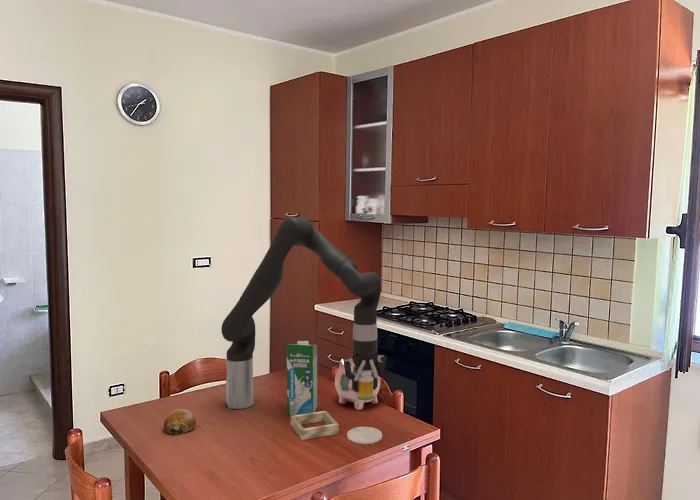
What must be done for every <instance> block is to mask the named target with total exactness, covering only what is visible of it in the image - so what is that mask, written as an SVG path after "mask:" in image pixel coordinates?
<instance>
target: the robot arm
mask: <svg viewBox="0 0 700 500" xmlns="http://www.w3.org/2000/svg"><path fill="white" fill-rule="evenodd" d="M294 246H295V247H296V246H297V247H305V248H306V249H308V250H310V251H312V252H313V253H315V254H316V256H318V257H319V259H320V261H321V263H322V265H323V266H324V267H325V268H326V269H327V270H328V271H330V272H331V273H332V274H333V275H335V276H336V277H337V279H338V278H339V280H341V282H342V284H343V285H344V286H345V288H346V289H347V290H348V291H349V292H350V294H352V295H353V296H356V297H358V298H360V300H359V302H358V303H356V304H355V306H354V307H353V327H352V356H351V357H352V358H349V359H346V358H343V359H344V360H343V363H344V368H345V374H346V377H347V378H349V379H350V380H352V389H353V390H354V391H355V392H358V377H359V375H360V374H361V372H362V370H366V369H368V370H369V369H371V370H372V373H371V374H372V376H373V379H374V381H373V390H376V388H377V386H378V377H379V376H381V377H382V376H383V375H384V372H385V368H386V362H387V357H386V356H385V355H383V354H380V355H379V354H378V324H377V320H378V319H377V313H378V312H377V309H378V306H379V301H380V297H381V293H382V281H381V278H380V276H379V275H378V274H377V273H376V272H373V271H368V272H362V273H360V272H359V271H358V265H357V263H356V262H355V261H354V260H353V259H351V258H350V257H349V256H347V255H346V254H345V253H344V252H343V251H341V250H340V249H339V248H337V247H336V246H335V245H333V243H331V242H330V240H328V239H327V238H326V236H324V235H323V234H322V233H321V231H320V230H319V229H318V228H317V227H316V226H315V225H314V223H312V222H311V221H310V220H308V219H306V218H301V217H287V218H285V219H284V220H283V221H282V222H281V223H280V225H279V227H278V228H277V231H276V233H275V234H274V237H273V239H272V242H271V244H270V246H269V248H268V250H267V251H266V252H265V254H264V257H263V259H262V261H261V262H260V264H259V265H258V267H257V269H256V270H255V271H254V273H253V275H252V277H251V279H250V280H249V282H248V284H247V286H245V287H246V288H245V289H244V290H243V292H242V294H241V295H240V298H239V299H238V301H237V302H236V303H235V305H234V306H233V308H232V309H231V310H230V312H229V313H228V314H227V315H226V317H225V318H224V320H223V322H222V324H221V330H220V331H221V335H222V337H223V338H224V340H225V341H228V342H230V343H231V342H232V343H231V345H230V346H229V348H228V349H227V351H226V378H225V399H226V400H225V401H226V406H227V407H228V409H229V410H231V409H232V410H233V409H235V410H243V409H247V408H250V407H252V406H253V405H254V364H253V362H254V360H253V358H254V356H253V355H254V354H253V353H254V352H255V347H256V322H255V319H254V318H253V316H254V315H255V313H257V312H258V310H259V309H260V308H262V307H263V306H264V305H265V304H266V303H267V302H268V301H269V300H270V299H271V298H272V297H273V295H274V293H275V292H276V290H277V289H278V287H279V286H280V284H281V282H282V280H283V276H284V264H285V261H286V258H287V256H288V254H289V253H290V252H291V250H292V249H293V248H294ZM352 362H353V363H354V364H355V366H354V369H353V373H352V372H351V367H350V366H352ZM377 362H378V363H377ZM376 363H377V368H376V365H375V364H376Z"/></svg>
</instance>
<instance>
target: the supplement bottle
mask: <svg viewBox="0 0 700 500" xmlns="http://www.w3.org/2000/svg"><path fill="white" fill-rule="evenodd" d="M371 373H372V370H371V369H369V370H368V369H366V370H362V372H361V374H360V375H359V377H358V392H356V399H357V400H358V401H361V402H365V403H370V402H369V401H372V400H373V381H374V379H373V376H372V375H371Z"/></svg>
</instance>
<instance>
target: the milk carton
mask: <svg viewBox="0 0 700 500" xmlns="http://www.w3.org/2000/svg"><path fill="white" fill-rule="evenodd" d="M286 405H287V406H286V416H294V415H300V414H307V413H313V412H316V410H317V408H318V345H317V344H309V340H298V341H297V343H289V344H286Z"/></svg>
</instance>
